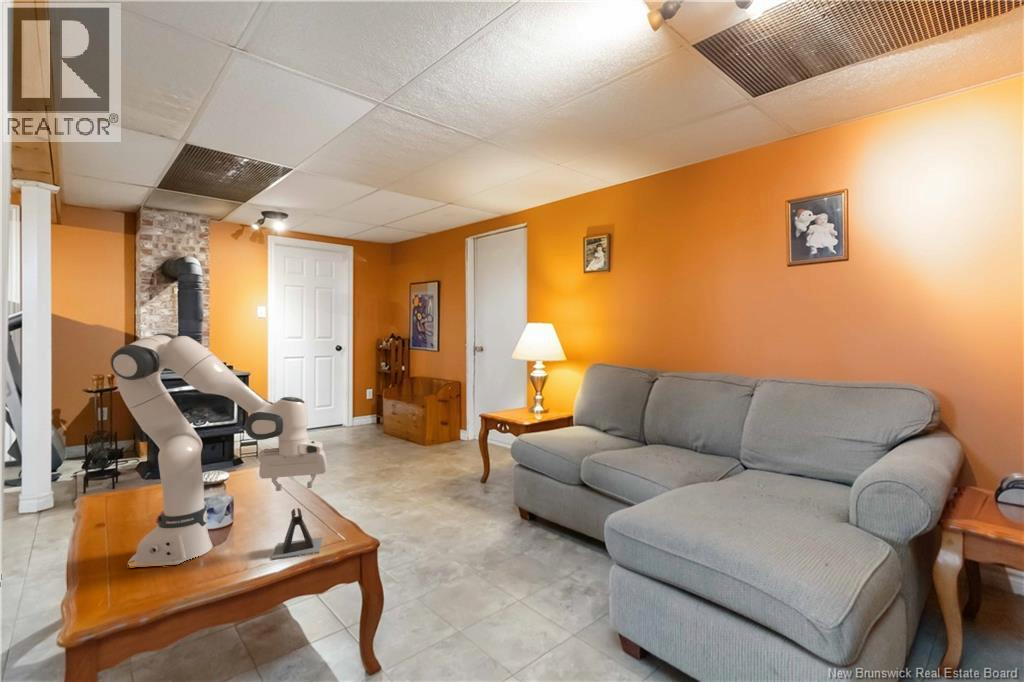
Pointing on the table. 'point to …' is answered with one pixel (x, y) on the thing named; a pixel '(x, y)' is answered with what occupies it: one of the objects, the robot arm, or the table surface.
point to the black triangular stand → (288, 539)
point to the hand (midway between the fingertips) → (294, 489)
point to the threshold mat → (279, 550)
